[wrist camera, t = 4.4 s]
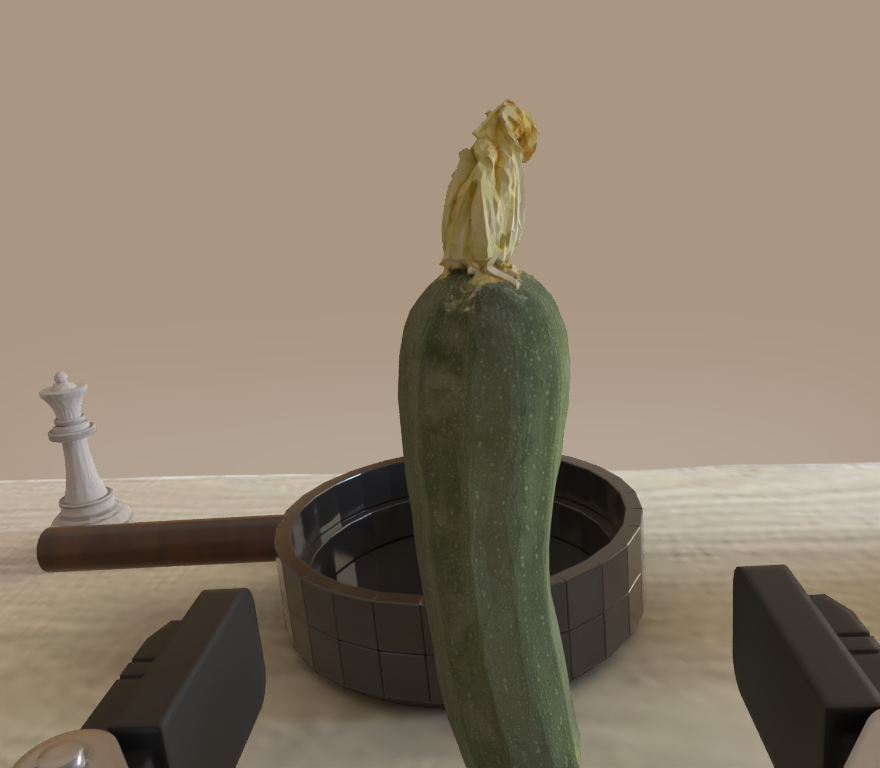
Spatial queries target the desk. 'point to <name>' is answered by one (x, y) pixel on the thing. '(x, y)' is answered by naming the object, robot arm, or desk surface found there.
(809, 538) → the desk surface
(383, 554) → the pan
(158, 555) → the pan handle
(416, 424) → the vegetable
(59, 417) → the chess piece
